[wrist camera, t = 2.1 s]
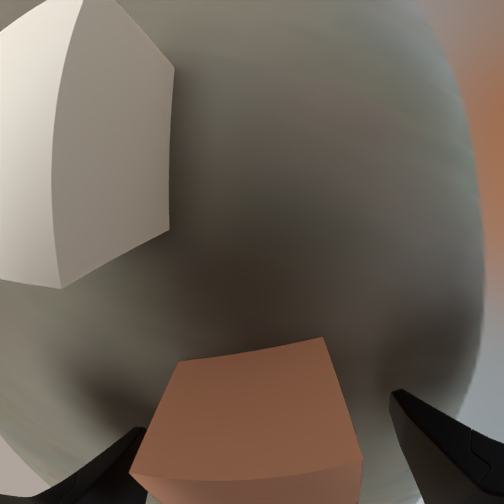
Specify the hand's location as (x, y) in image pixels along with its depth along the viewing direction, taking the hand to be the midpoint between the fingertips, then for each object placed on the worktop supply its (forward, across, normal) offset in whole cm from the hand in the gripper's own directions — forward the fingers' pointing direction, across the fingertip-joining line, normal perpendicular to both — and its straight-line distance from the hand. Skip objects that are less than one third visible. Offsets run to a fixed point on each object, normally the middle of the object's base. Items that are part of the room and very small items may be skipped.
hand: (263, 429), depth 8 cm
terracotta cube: (+1, 0, 0) cm, 1 cm away
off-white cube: (+2, +3, -10) cm, 11 cm away
